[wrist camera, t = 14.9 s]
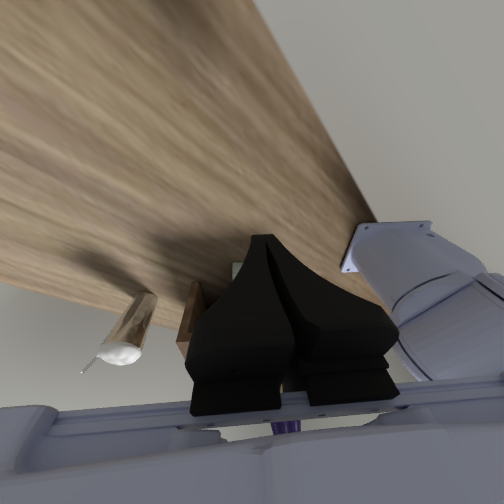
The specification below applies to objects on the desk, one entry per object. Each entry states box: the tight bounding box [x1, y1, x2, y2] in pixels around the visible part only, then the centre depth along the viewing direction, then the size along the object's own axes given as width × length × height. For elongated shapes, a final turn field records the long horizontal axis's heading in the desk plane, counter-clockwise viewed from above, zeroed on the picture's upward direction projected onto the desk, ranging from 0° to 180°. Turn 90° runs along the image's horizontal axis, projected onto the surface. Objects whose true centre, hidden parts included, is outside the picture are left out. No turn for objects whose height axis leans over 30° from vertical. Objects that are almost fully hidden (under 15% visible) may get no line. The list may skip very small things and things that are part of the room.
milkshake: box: [81, 292, 158, 373], centre depth 24 cm, size 4×5×10 cm
